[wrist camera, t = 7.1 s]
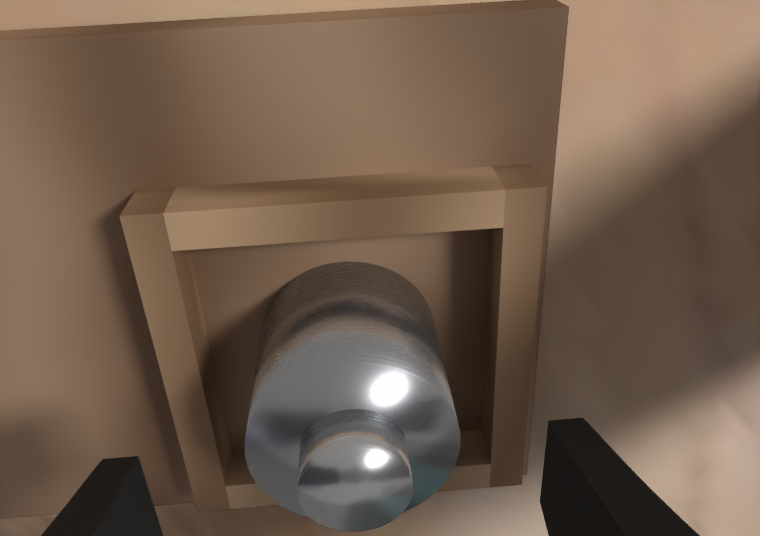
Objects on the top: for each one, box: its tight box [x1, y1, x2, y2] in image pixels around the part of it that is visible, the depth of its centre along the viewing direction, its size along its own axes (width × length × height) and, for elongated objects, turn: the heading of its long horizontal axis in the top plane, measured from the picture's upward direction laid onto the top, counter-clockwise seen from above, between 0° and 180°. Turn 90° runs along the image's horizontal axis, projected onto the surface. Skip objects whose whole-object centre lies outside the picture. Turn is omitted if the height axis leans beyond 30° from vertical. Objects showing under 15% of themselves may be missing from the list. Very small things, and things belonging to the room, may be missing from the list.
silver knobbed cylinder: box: [244, 261, 461, 532], centre depth 14 cm, size 4×4×5 cm
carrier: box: [0, 0, 569, 519], centre depth 15 cm, size 18×12×2 cm, turn 92°
